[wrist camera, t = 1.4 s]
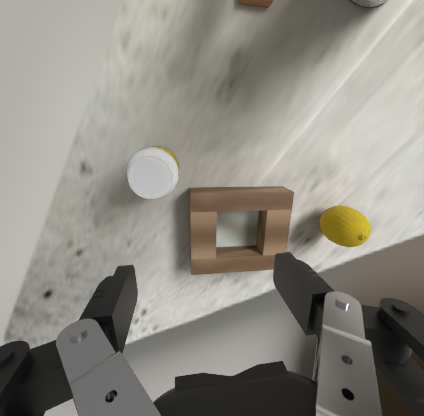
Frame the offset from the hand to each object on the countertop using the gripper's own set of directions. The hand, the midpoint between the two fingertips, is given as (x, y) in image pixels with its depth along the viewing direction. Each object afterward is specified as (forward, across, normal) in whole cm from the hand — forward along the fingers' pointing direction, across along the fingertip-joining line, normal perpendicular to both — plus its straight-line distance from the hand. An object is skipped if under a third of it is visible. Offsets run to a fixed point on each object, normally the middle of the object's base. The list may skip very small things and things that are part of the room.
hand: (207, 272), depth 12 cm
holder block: (+20, -6, +6) cm, 22 cm away
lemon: (+20, -22, +5) cm, 30 cm away
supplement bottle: (+20, +4, -4) cm, 21 cm away
